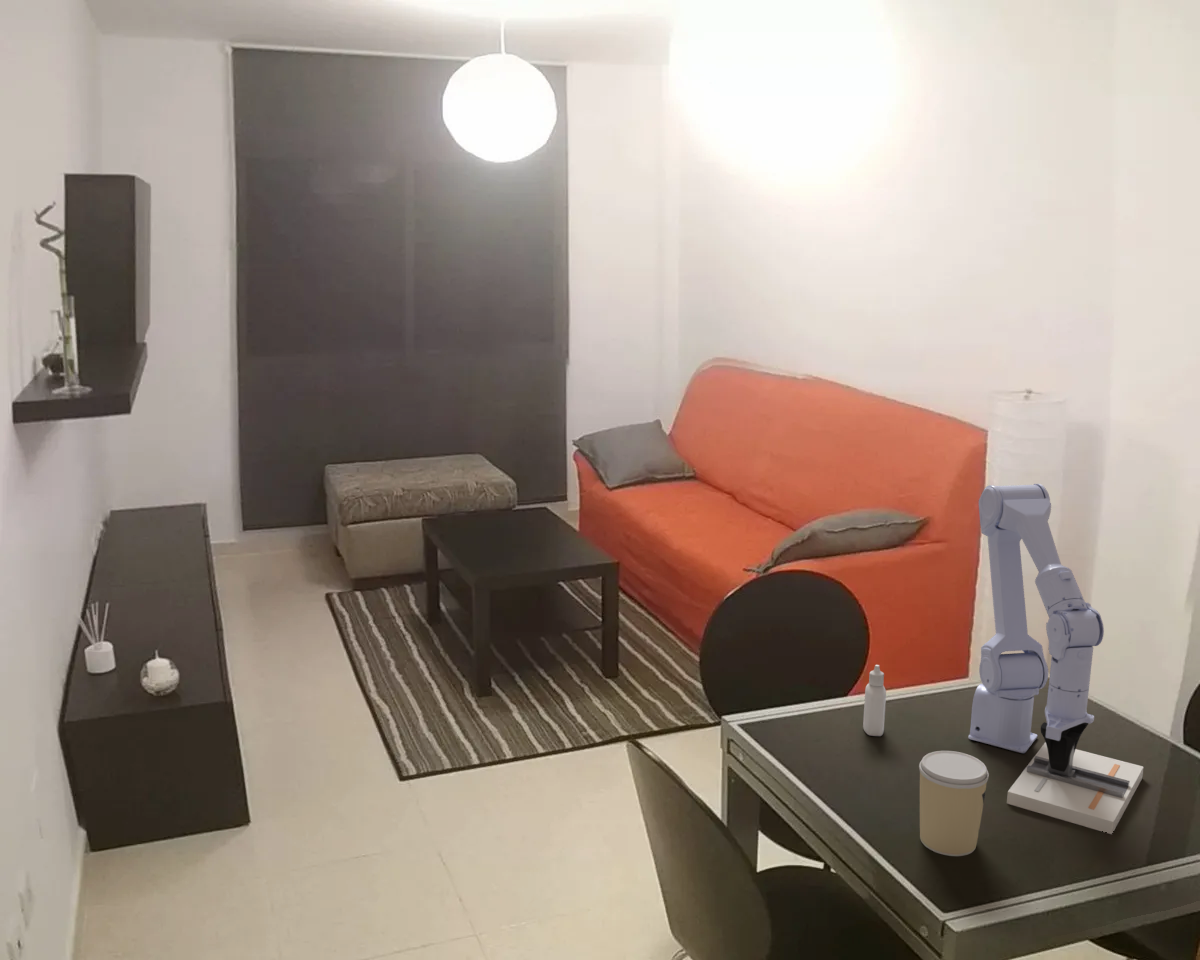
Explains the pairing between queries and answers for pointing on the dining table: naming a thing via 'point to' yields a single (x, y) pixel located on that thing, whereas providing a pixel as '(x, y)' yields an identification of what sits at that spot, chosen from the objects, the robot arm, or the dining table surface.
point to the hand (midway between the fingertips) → (1060, 765)
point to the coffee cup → (951, 801)
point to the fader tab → (1068, 770)
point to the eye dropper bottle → (874, 703)
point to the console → (1078, 789)
